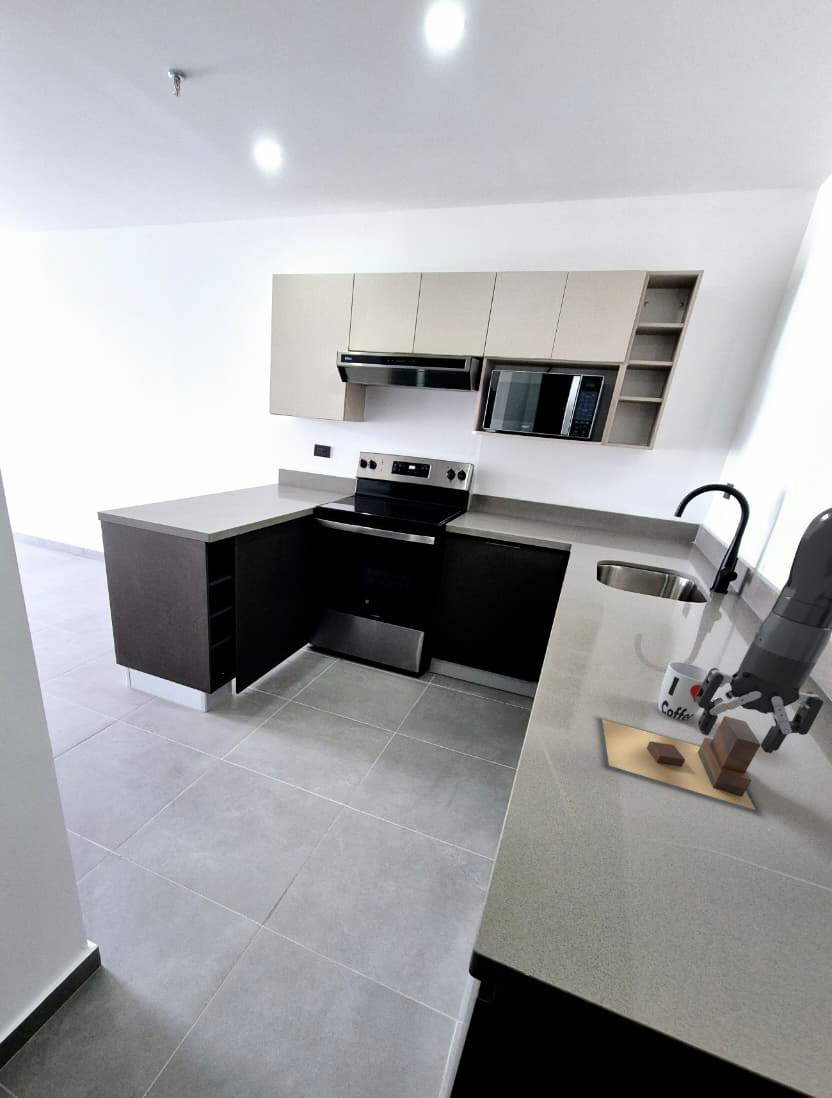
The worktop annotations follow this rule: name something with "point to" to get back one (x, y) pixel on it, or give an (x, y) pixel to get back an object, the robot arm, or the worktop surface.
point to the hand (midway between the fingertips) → (734, 741)
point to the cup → (681, 690)
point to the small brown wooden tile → (665, 754)
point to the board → (634, 757)
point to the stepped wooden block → (729, 756)
